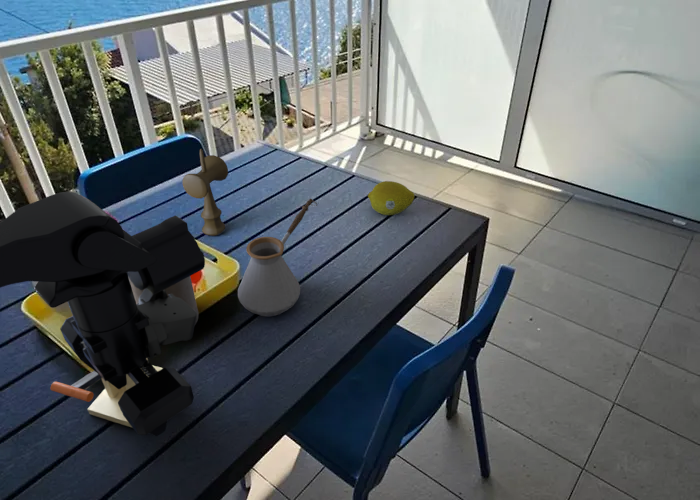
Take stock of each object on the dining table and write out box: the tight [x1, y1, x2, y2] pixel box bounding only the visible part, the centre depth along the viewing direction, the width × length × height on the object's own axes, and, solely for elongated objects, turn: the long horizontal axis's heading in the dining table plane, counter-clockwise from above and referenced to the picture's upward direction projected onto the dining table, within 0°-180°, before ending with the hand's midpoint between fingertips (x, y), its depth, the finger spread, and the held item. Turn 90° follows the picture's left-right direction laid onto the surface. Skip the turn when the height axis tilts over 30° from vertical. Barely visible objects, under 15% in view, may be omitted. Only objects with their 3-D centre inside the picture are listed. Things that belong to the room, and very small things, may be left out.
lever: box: [50, 370, 102, 403], centre depth 68 cm, size 11×6×2 cm, turn 164°
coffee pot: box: [237, 198, 318, 317], centre depth 93 cm, size 21×12×15 cm, turn 151°
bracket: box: [87, 357, 164, 429], centre depth 73 cm, size 10×8×10 cm
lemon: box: [367, 180, 415, 216], centre depth 118 cm, size 11×8×8 cm
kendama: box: [182, 148, 229, 237], centre depth 106 cm, size 6×10×20 cm, turn 164°
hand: (140, 408), depth 59 cm, fingers open, 9 cm apart
